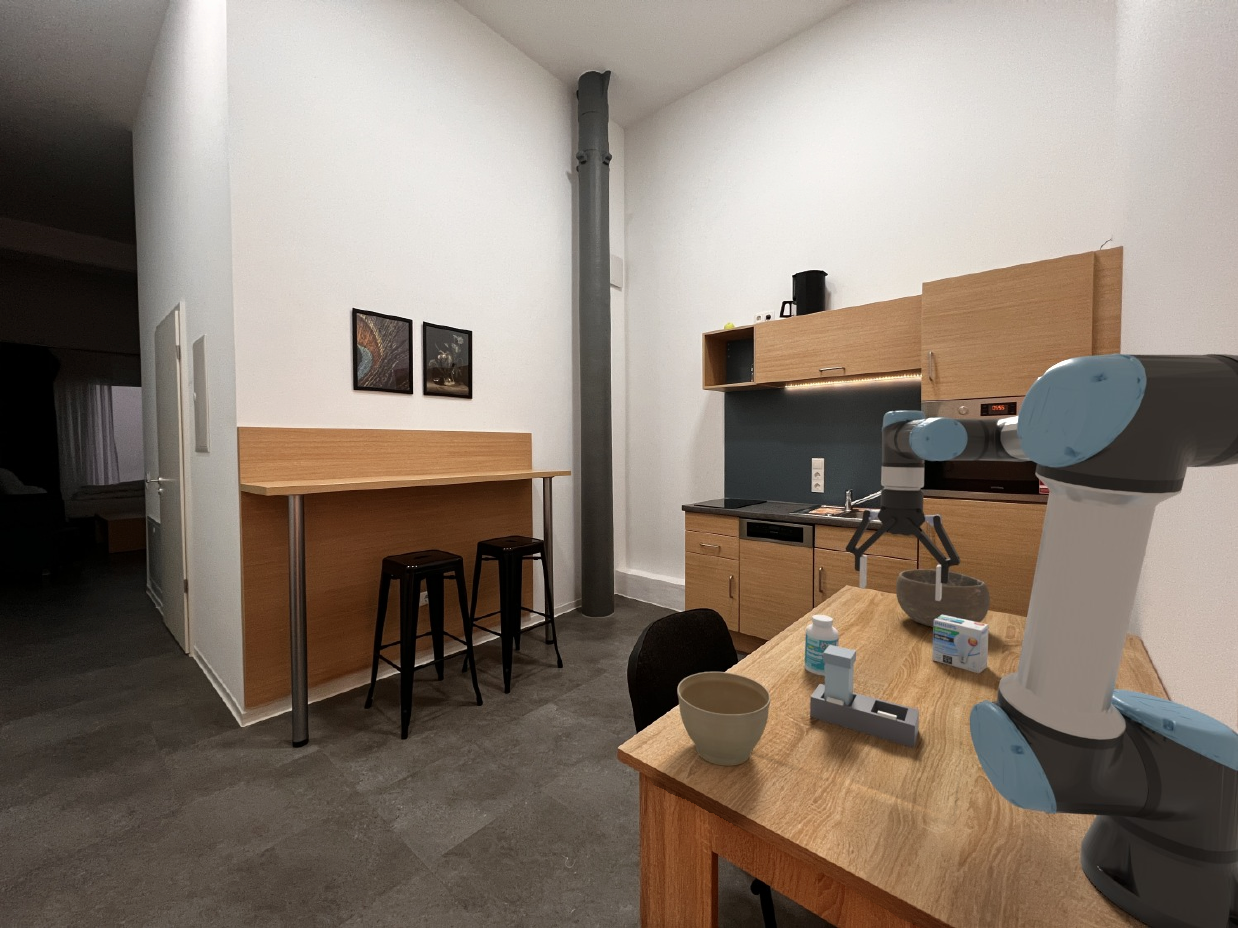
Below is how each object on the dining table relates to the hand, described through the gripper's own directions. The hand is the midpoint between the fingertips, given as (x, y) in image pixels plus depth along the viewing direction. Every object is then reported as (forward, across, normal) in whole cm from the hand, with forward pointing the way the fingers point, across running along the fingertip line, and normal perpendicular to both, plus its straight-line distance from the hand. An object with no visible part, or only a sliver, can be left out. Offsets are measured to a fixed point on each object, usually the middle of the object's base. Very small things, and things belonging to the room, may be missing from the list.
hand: (899, 593), depth 104 cm
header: (+25, +4, +10) cm, 27 cm away
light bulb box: (+25, -8, -39) cm, 47 cm away
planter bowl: (+25, +22, +34) cm, 48 cm away
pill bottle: (+25, +18, -10) cm, 33 cm away
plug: (+24, +8, +10) cm, 27 cm away
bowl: (+25, 0, -69) cm, 74 cm away
